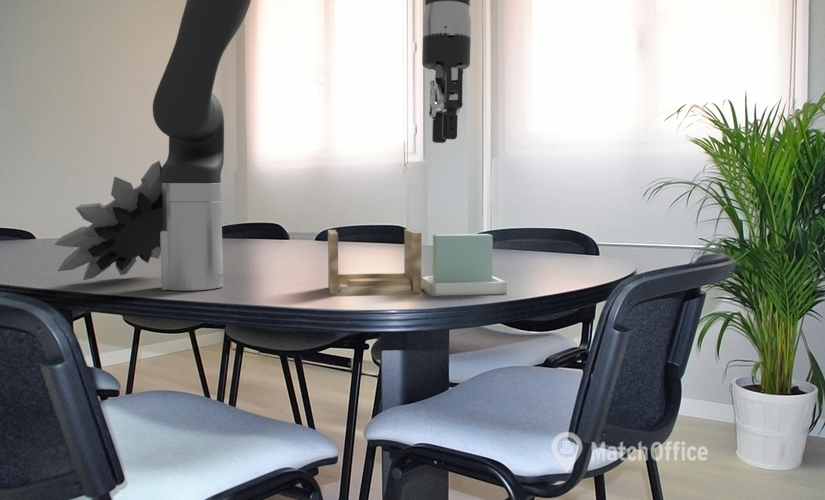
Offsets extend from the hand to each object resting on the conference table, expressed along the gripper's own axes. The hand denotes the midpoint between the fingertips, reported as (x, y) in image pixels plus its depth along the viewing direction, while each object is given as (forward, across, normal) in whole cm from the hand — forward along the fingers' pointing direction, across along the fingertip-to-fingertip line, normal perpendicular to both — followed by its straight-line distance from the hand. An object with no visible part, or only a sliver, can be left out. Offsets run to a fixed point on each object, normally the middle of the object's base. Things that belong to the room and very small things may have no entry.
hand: (444, 141), depth 107 cm
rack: (+24, -1, -11) cm, 27 cm away
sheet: (+23, +2, +3) cm, 24 cm away
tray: (+24, +2, +3) cm, 24 cm away
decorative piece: (+23, -30, -50) cm, 62 cm away
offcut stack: (+24, +2, -11) cm, 26 cm away
